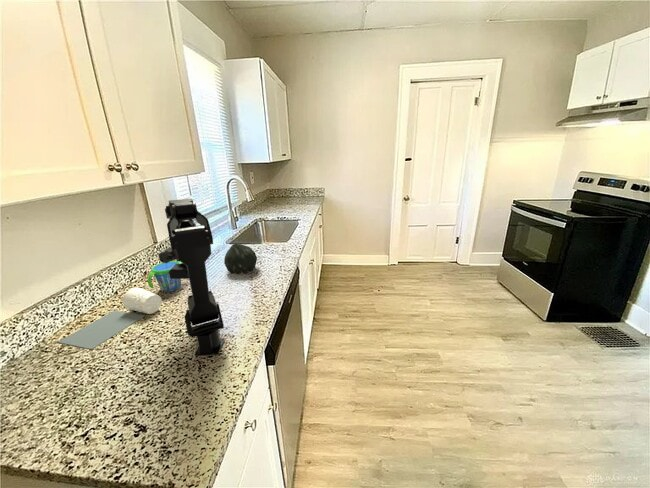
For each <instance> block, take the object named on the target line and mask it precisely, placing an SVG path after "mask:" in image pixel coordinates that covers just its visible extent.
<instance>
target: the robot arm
mask: <svg viewBox="0 0 650 488" xmlns="http://www.w3.org/2000/svg"><path fill="white" fill-rule="evenodd" d="M164 212H165V216H166V219H168V222H167V224H166V226H167V232H168V237H169V244H170V247H168V248H165V249H164V250H163V251H161V252H159V253H158V261H160V262H161V263H168V262H170V261H177V262H180V263H182V264H175V265H174V266H173V267H172V269H171V270H170V271H169V272H168V274H169V278H170V279H181V280H189V285H190V291H191V295H188V297H187V307H188V309H186V310H185V311H186V312H185V315H184V316H183V317H184V322H185V327H186V331H187V335H188V336H190V337H191V339H193V338H195V337H196V339H197V344H198V347H197V348H196V350H195V352H194V356H210V355H211V356H212V355H213V356H214V355H218V354H220V352H221V349H222V347H223V345H224V343H225V338H224V337H223V338H222V337H220V332H219V330H222V329H223V330H224V328H225V326H224V320H223V316H222V313H221V308H220V305H219V302H218V301H216V298H215V295H214V294H213V292H212V291H211V290H209V284H208V276H207V275H208V274H207V267H206V266H207V265H206V262H207V261H208V259H209V258H210V256H212V245H214V238H213V234H212V233H213V232H212V229H211V226H210V222H209V218H207V217H206V216H205V215H203V214H202V213H201V212H200V211H199V210H198V208H197V204H196V201H194V200H193V199H192V198H181V199H171V200H168V204H166V205H165V208H164ZM194 220H195V221H196V222H197V223H198V224H199V225H197V224H196V223H195V222H194Z"/></svg>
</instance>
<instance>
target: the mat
mask: <svg viewBox="0 0 650 488" xmlns="http://www.w3.org/2000/svg"><path fill="white" fill-rule="evenodd" d="M144 317H146V315H145V314H140V313H139V314H138V313H132V312H126V311H119V310H112V311H110V312H109V313H108V314H105V315H104V316H102V317H100V318H98V319H96V320H95V321H93V322H91V323H89V324H87V325H86V326H84V327H81V328H80V329H79V330H76V331H74V332H72V333H71V334H69V335H67V336H66V337H64V338H61V339H60V340H57V344H63V345H68V346H73V347H77V348H82V349H88V350H94V349H96V348H97V347H99V346H100V345H102V344H103V343H105V342H106V341H108V340H110V339H111V338H112V337H115V336H116V335H117V334H119V333H120V332H122V331H123V330H125V329H127V328H129V327H130V326H132V325H134V324H135V323H137V322H138V321H139V320H141V319H143V318H144Z"/></svg>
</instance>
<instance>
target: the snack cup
mask: <svg viewBox="0 0 650 488" xmlns="http://www.w3.org/2000/svg"><path fill="white" fill-rule="evenodd" d="M175 264H182V262H180V261H177V260H173V261H170V262H168V263H162V262H161V263H158V264H155V265H154V266H152V268H151V272H150V273H149V274H148V278H147V284H148V287H149V288H150V289H154V285H153V282H152V278H153V277H155V280H156V282H157V284H158V287H159V288H160V291H162V292H173V291H176V290H178V289H180V287H181V286H182V279H170V278H169V274H168V272H169V271H170V270H171V269H172V267H173V266H174V265H175Z"/></svg>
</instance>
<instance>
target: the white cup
mask: <svg viewBox="0 0 650 488" xmlns="http://www.w3.org/2000/svg"><path fill="white" fill-rule="evenodd" d="M121 303H122V305H123V307H124V308H125V309H128V310H131V311H134V312H138V313H144V314H149V315H152V314H154V313H156V312H157V311H158V310H159V309H160V308H161V305H162V297H161V296H159V295H158V294H156V293H153V292H151V291H149V290H146V289H143V288H140V287H132V288H130V289H128V290H127V291H126V292H125V293H124V294H123V296H122V302H121Z"/></svg>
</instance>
